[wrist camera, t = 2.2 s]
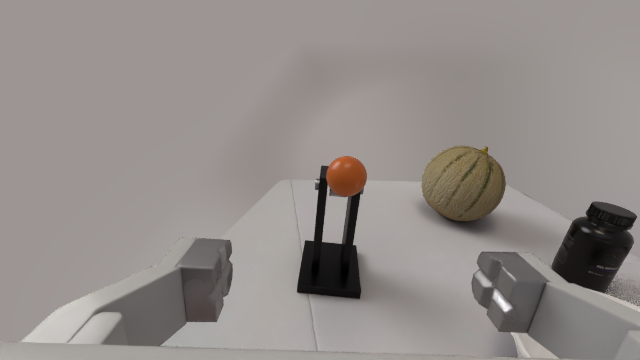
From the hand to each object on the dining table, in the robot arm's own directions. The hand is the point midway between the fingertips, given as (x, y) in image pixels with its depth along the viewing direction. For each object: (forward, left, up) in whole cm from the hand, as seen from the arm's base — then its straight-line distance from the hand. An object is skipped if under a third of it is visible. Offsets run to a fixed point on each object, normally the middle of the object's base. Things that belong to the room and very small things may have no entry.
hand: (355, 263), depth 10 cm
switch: (+1, +21, -8) cm, 22 cm away
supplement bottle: (+39, +31, -22) cm, 54 cm away
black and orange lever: (+1, +27, -22) cm, 34 cm away
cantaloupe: (+26, +48, -22) cm, 58 cm away
